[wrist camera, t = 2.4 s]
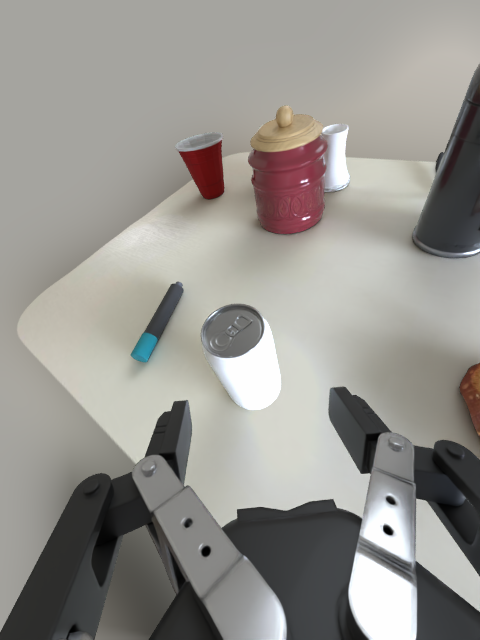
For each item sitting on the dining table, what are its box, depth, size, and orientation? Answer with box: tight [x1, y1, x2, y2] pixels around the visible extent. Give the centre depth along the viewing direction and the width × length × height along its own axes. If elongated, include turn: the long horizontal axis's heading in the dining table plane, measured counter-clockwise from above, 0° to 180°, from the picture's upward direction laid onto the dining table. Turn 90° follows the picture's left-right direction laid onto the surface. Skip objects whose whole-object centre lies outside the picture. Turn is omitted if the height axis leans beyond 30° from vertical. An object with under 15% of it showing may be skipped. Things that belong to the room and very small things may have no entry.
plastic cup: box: [175, 132, 224, 199], centre depth 59 cm, size 11×11×12 cm
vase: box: [321, 124, 350, 192], centre depth 51 cm, size 8×8×10 cm
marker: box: [131, 282, 183, 362], centre depth 39 cm, size 15×2×2 cm
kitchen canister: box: [248, 105, 328, 234], centre depth 44 cm, size 13×13×18 cm
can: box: [201, 304, 281, 410], centre depth 26 cm, size 6×6×12 cm
